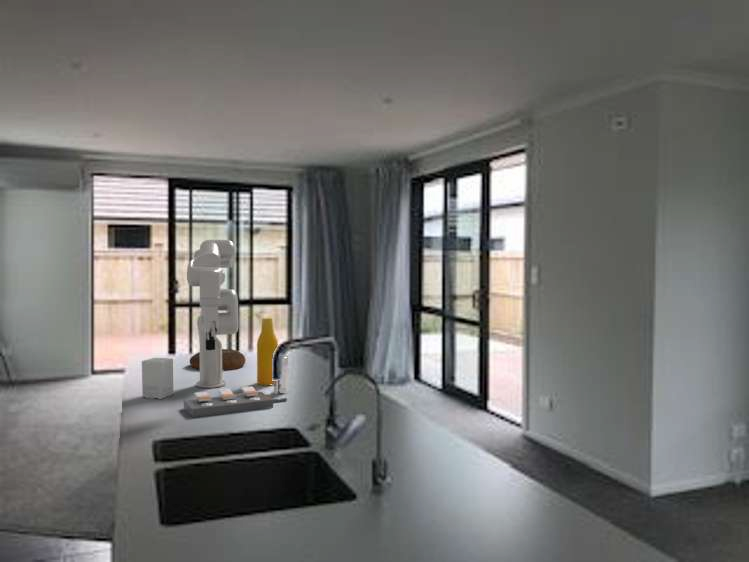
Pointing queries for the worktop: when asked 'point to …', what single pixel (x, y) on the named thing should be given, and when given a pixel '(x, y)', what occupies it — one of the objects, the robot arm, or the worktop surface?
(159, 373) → the supplement box
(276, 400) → the power strip
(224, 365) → the bread
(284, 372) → the beer glass
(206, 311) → the robot arm
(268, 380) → the beer bottle
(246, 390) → the outlet rocker
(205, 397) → the rocker outlet
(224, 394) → the outlet rocker
